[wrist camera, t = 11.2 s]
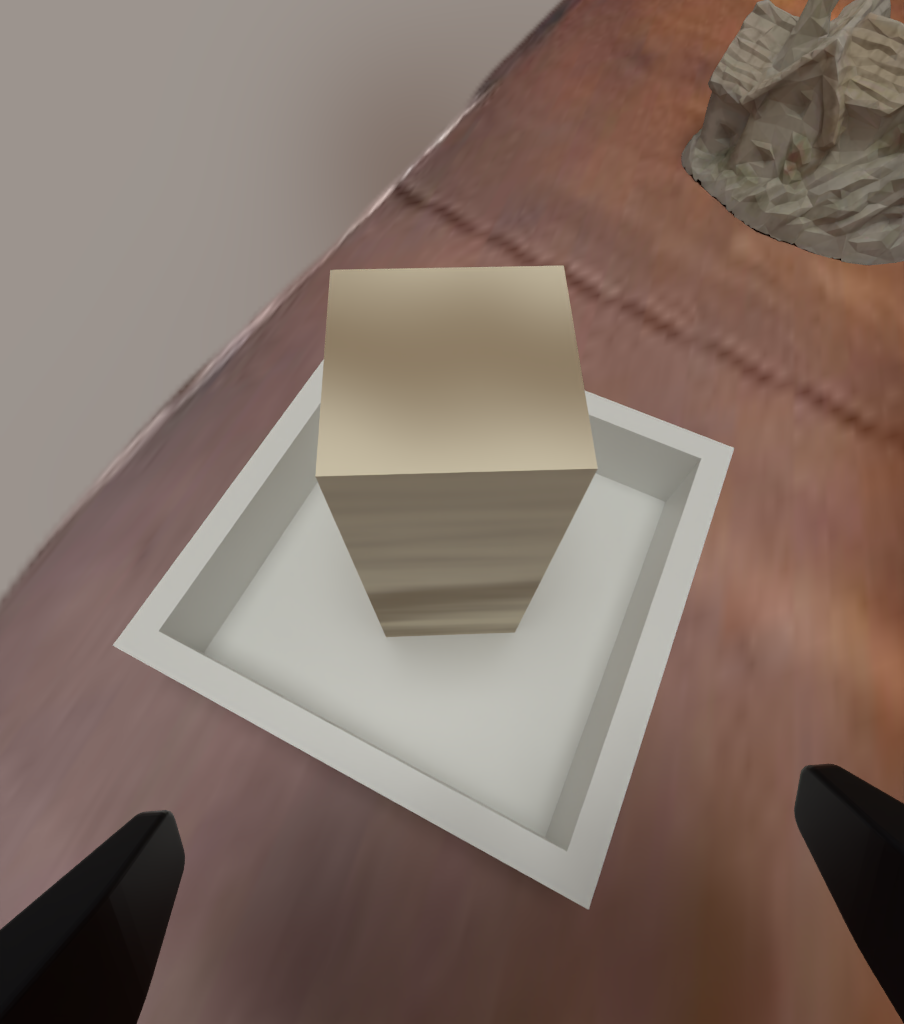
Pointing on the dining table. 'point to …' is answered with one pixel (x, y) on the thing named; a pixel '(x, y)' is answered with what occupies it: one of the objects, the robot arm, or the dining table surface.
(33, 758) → the dining table surface
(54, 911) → the robot arm
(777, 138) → the ceramic cottage
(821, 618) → the dining table surface
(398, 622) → the birch block
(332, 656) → the box
